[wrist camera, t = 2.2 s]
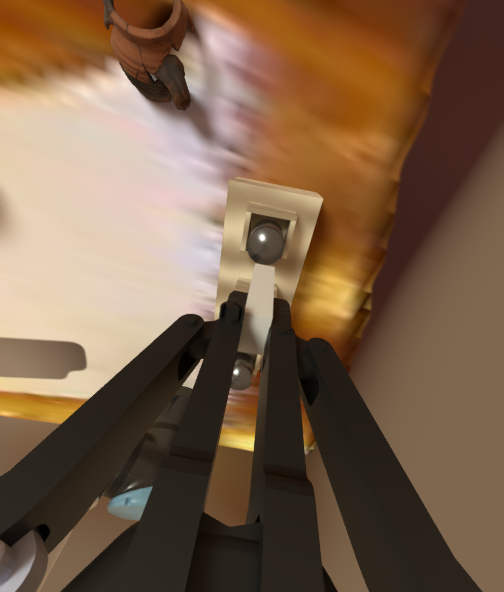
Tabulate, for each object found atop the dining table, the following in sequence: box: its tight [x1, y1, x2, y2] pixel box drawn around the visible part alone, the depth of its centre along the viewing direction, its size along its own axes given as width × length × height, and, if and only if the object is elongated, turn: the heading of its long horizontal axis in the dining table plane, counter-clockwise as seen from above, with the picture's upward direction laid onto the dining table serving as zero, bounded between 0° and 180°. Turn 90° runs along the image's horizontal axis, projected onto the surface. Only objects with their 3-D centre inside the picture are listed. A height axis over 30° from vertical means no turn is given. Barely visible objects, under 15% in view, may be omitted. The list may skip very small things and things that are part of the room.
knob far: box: [230, 352, 253, 390], centre depth 39 cm, size 4×4×4 cm
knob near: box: [247, 220, 284, 265], centre depth 27 cm, size 4×4×4 cm
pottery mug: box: [103, 0, 194, 110], centre depth 27 cm, size 12×9×8 cm
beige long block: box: [214, 177, 323, 377], centre depth 39 cm, size 32×12×10 cm, turn 170°
